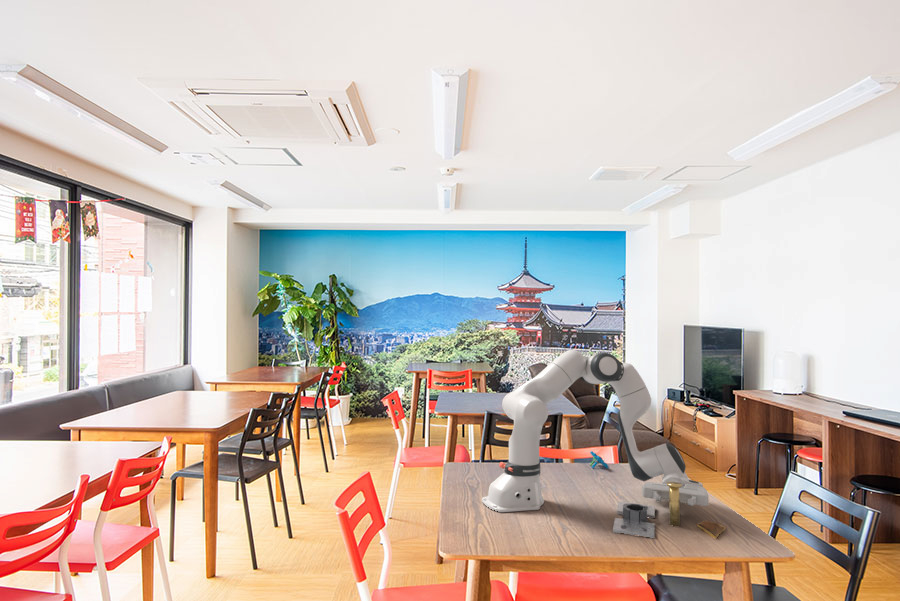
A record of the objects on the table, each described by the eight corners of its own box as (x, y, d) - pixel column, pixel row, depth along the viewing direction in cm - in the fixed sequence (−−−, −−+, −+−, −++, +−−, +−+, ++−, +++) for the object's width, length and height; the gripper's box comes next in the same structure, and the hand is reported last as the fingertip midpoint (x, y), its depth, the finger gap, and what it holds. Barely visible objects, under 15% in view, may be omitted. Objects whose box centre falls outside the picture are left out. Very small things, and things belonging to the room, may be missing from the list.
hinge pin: (675, 528, 160) (674, 486, 161) (664, 523, 164) (663, 482, 165) (685, 526, 162) (684, 484, 162) (674, 521, 166) (673, 480, 166)
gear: (612, 467, 222) (596, 451, 224) (603, 477, 221) (587, 460, 223) (604, 464, 233) (588, 448, 234) (596, 473, 232) (580, 458, 234)
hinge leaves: (654, 538, 152) (654, 525, 152) (612, 532, 156) (612, 519, 157) (654, 508, 177) (654, 497, 177) (618, 504, 181) (618, 492, 182)
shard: (716, 541, 151) (716, 535, 152) (689, 534, 157) (689, 528, 157) (727, 531, 159) (727, 525, 159) (701, 524, 165) (701, 518, 165)
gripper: (643, 475, 180) (639, 486, 167) (707, 483, 171) (709, 495, 158) (643, 493, 179) (639, 505, 167) (707, 502, 171) (709, 516, 158)
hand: (674, 501), depth 162 cm, fingers open, 8 cm apart
